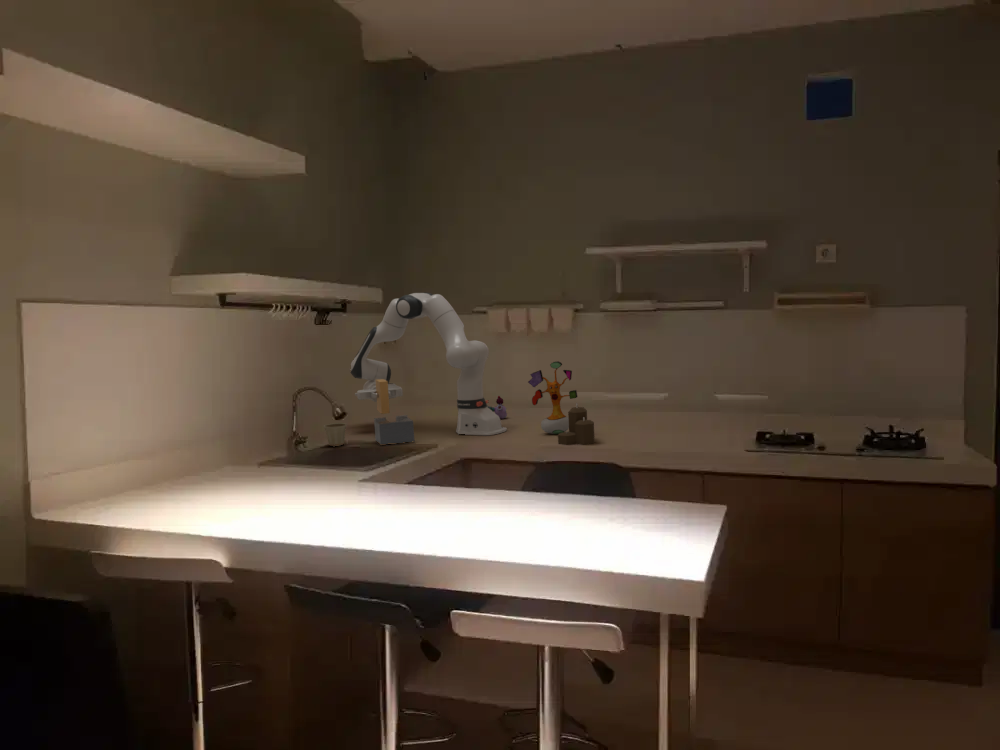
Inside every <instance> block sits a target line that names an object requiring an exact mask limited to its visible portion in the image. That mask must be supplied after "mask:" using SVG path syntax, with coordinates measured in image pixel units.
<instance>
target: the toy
mask: <svg viewBox="0 0 1000 750" xmlns="http://www.w3.org/2000/svg"><path fill="white" fill-rule="evenodd" d="M495 403H496V404H497V405H496V406H492V405H488V404H487V407H488V408H489V409H490V410H492V411H493V412H494V413H495V414H496V415H498V416H499V418H500V420H505V419H506V418H507V416H508V413H507V407H506V406H505V405H504V399H503V398H502V397H501V395H498V396H497V399H496V401H495ZM504 418H505V419H504Z"/></svg>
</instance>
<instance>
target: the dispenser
mask: <svg viewBox="0 0 1000 750" xmlns="http://www.w3.org/2000/svg"><path fill="white" fill-rule="evenodd" d="M386 418H387V417H386V416H382V417H375V418H373V423H374V435H375V437H374V438H375V442H376V441H377V442H379V443H380V444H388V443H403V442H412V441H414V442H415V431H414V429H415V428H414V420H413V419H411V418H410V417H408V414H402V415H396V416H395V421H389V420H388V419H386ZM377 442H376V443H377Z"/></svg>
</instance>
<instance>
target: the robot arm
mask: <svg viewBox="0 0 1000 750" xmlns="http://www.w3.org/2000/svg"><path fill="white" fill-rule="evenodd" d="M424 317H425V318H426V317H428V319H430V322H431V323H432V325H433V326H434V328H435V329H436V331H437V332H438V334H439V336H440V337H441V339H442V341H443V343H444V347H445V349H446V353H445V358H446V362H447V364H448V365H449V366H450V367H452V368H456V369H460V374H459V377H458V379H457V381H456V388H457V389H456V391H457V400H456V407H457V424H456V430H455V432H456V433H457V435H459V434H465V435H469V436H493V435H494V436H495V435H497V434H501V433H502V434H503V433H504V432H507V427H506V426H505V427H504V426H502V421H501V419H500V418H499V416H498V415H496V414H495V412H493V411H492V410H490V409H489V408H488V407H487V405H488V403H489V400H488V399H487V400H485V398H484V383H483V382H484V380H483V379H484V371H485V366H486V362H487V360H488V359H489V355H490V349H489V347H488V346H487V344H486V343H485V342H483V341H479V340H475V339H474V340H469V339H467V337H466V332H465V325H464V323H463V321H462V319H461V318H460V316H459V315H458V313H457V312H456V310H455V308H454V307H453V306H452V305H451V304H450V302H449V301H448V300H447V299H446V298H445V297H444V296H443V295H442V294H439V293H436V294H435V293H434V294H433V293H431V292H413V293H410V294H403V296H400V297H399V298H393V299H392V300H391V301H390V303H389V305H388V307H387V308H386V310H385V313H384V316H383V317H382V318H383V319H382V321H380V323H379V324H378V325H376V326H374V327H372V328H371V329H370V330H369V332H368V333H367V335H366V337H365V339H364V341H363V342H362V344H361V346H360V348H359V350H358V352H357V354H356V355H355V356H354V358H353V359H354V360H352V361H351V363H350V365H351V369H350V368H349V371H350V370H351V372H350V374H351V376H353V378H355V379H360V380H362V379H363V380H366V382H365V383H364V384H363V387H362V389H359V390H357V392H355V393H354V396H355V397H357V400H358V401H359V400H361V401H362V400H363V401H365V400H371V401H373V402H374V403H377V398H379V394H378V393H376V392H377V391H376V380H378V379H384V380H386V381H388V394H389V400H390V399H395V398H397V397H403V396H404V395H403V393H404V392H403V391H404V390H403V388H402V387H401V386H400V385H396V383H390V382H391V381H390V380H391V375H392V370H391V367H390V365H389V363H387V362H384V361H380V360H377V359H376V360H375V359H371V358H368V356H369V354H370V352H371V350H372V349H373V347H374V346H375V345H377V344H380V343H384V342H385V343H386V342H393V341H396V340H399V339H400V338H402V337H403V336H404V334H405V331H406V330H407V326H408V323H409V320H411V319H422V318H424Z"/></svg>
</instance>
